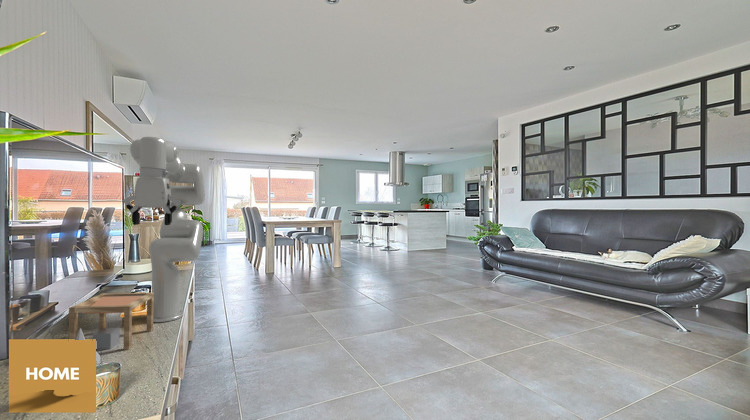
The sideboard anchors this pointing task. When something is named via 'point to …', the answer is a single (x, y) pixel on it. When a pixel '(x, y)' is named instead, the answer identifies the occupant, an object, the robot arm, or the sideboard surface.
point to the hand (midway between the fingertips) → (152, 224)
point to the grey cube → (107, 338)
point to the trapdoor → (114, 302)
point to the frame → (127, 310)
